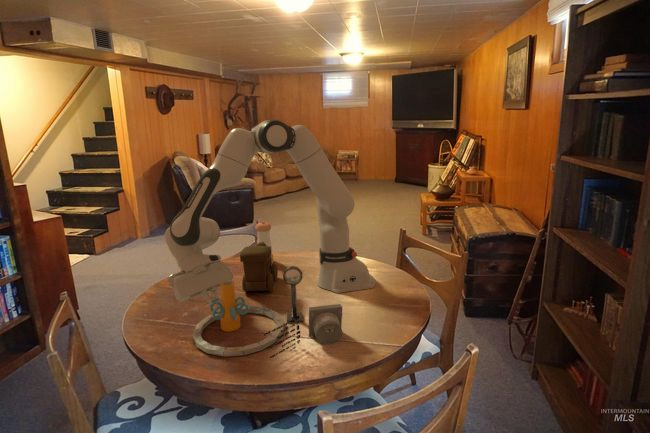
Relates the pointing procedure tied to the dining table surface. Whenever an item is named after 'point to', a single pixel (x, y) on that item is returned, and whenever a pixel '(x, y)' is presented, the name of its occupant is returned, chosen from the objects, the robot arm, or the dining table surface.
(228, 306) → the orange vase with loops
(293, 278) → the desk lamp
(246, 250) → the brown backpack
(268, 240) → the salt shaker
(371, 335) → the dining table surface
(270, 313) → the ring
